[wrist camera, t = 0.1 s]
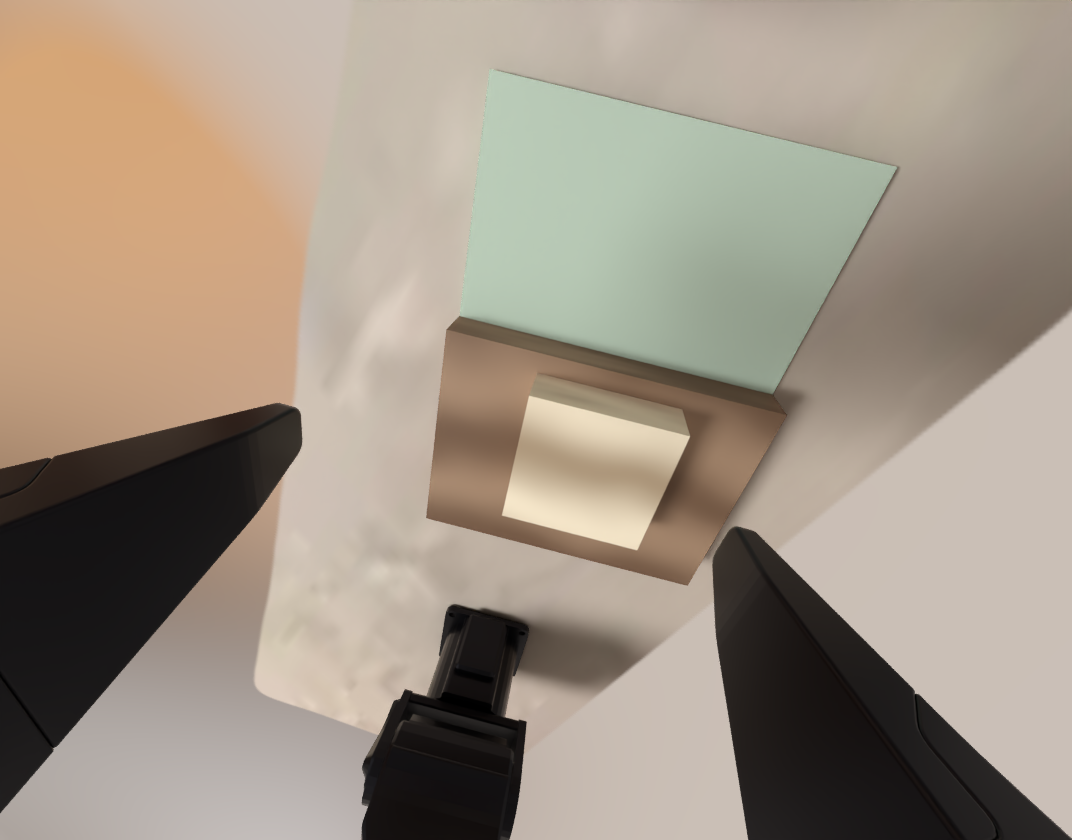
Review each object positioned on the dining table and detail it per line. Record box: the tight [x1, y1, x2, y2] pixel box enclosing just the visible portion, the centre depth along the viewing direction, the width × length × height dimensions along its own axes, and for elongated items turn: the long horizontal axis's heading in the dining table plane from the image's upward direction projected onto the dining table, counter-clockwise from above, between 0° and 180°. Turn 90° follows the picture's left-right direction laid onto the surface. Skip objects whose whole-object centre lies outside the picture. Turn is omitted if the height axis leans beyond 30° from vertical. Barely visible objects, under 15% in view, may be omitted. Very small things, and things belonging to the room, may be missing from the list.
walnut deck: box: [426, 316, 787, 586], centre depth 25 cm, size 12×16×2 cm
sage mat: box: [460, 69, 897, 395], centre depth 20 cm, size 10×16×1 cm, turn 79°
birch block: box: [502, 373, 690, 550], centre depth 22 cm, size 7×7×2 cm
